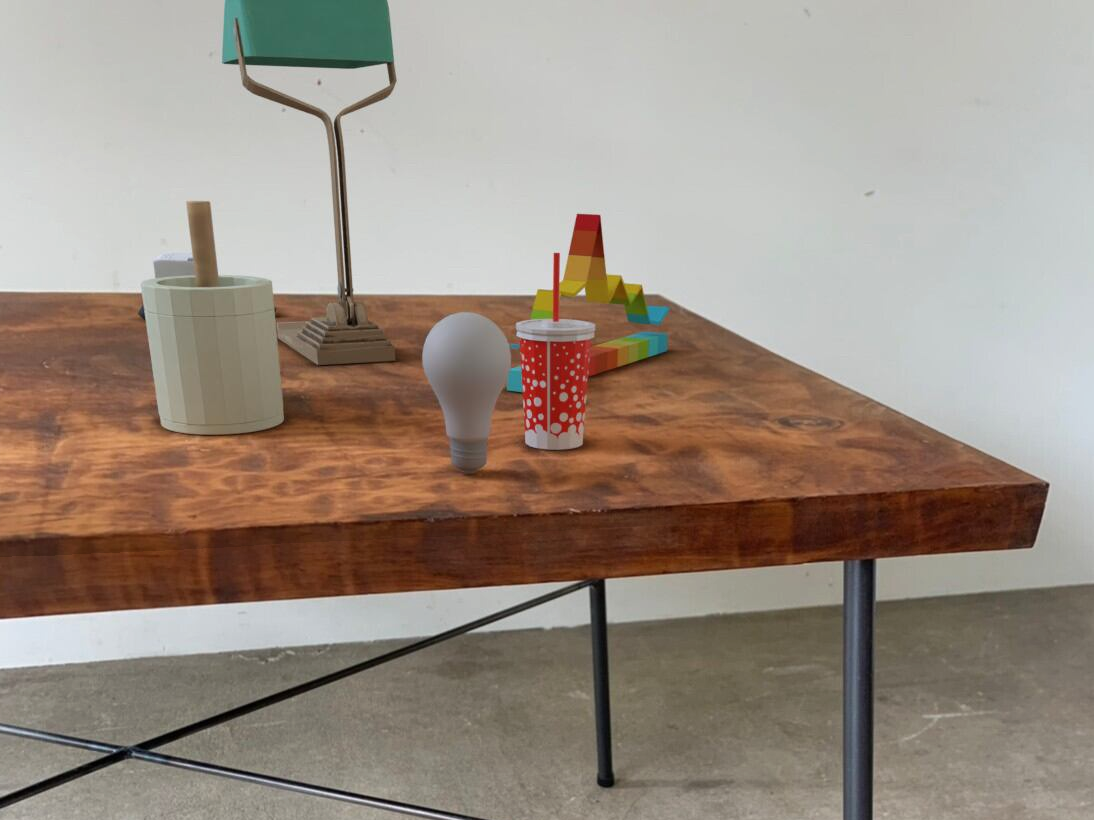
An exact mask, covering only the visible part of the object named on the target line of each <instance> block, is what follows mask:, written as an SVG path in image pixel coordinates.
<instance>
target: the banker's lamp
mask: <svg viewBox="0 0 1094 820" xmlns="http://www.w3.org/2000/svg"><path fill="white" fill-rule="evenodd" d="M223 10H224V11H223V29H222V31H223V32H222V52H221V63H222V64H224V65H232V66H233V65H235V66H238V67H239V72H240V77H241V78H240V79H241V84H242V86H243V87H244V89H246V91H247V92H249V93H251V94H253V95H255V96H258V97H259V98H263V99H266V100H269V101H271V102H274V103H277V104H281V105H283V106H287V107H289V108H292V109H295V110H298V111H300V112H302V113H305V114H309V115H312V116H315V117H317V118H318V119H320V120H321V121H322V122H323V125H324V127H325V131H326V138H327V143H328V145H327V146H328V152H329V153H328V154H329V167H330V168H329V169H330V179H331V180H330V181H331V196H332V198H331V199H332V211H333V225H334V226H333V227H334V240H335V241H334V242H335V254H336V255H335V256H336V270H337V295H338V298H339V299H338V301H339V302H329V303H328V304H327V307H326V316H325V317H321V316H320V317H311V320H306V321H305V320H304V321H283V322H276V332H277V340H280V341H281V342H283V343H284V344H286V345H287V346H289V348H291V349H293V350H295V351H296V352H298V353H299V354H301V355H302V356H304V357H305V358H307V359H308V360H309V361H311V362H312V363H314V364H315V365H317V366H324V365H325V366H326V365H327V366H328V365H343V364H344V365H345V364H358V363H378V362H393V361H396V347H395V345H394V344H392V340H391V339H388V338H387V334H386V333H384V330H383V328H381V327H379V324H377V323H375V322H373V321H371V320H369V317H368V311H367V308H366V305H365V303H364V301H363V302H362V301H354V287H353V285H354V284H353V271H352V255H351V237H350V224H349V221H350V220H349V205H348V189H347V174H346V173H347V172H346V159H345V146H344V138H343V132H342V125H341V119H342V117H343V116H346V115H349V114H352V113H353V112H356V111H358V110H361V109H363V108H366V107H368V106H369V107H370V106H371V105H374V104H376V103H378V102H381V101H383V100H386V99H387V98H388V97H390V95H391V94H392V93H393V91H394V90H395V86H396V84H397V82H398V80H397V79H398V78H397V73H396V67H395V56H394V45H393V37H392V35H393V34H392V25H391V24H392V23H391V15H390V14H391V13H390V6H389V1H388V0H224V9H223ZM380 65H386V68H387V74H388V81H389V85H388V86H386V87H384V88H383V89H381V90H379V91H377V92H375V93H372V94H371V95H369V96H367V97H365V98H363V99H360V100H358V101H357V102H355V103H353V104H351V105H349V106H346V107H345V108H343V109H342V110H341V111H339V112H338V114H337V115H336V116H335V118H334V120H333V121H332V119H331V117H330V115H329V114H328V113H327V112H326V111H324V110H323V109H321V108H320V107H317V106H315V105H312V104H310V103H307V102H305V101H302V100H300V99H299V98H296V97H293V96H291V95H287V94H286V93H283V92H281V91H279V90H277V89H274V88H272V87H270V86H267V85H264V84H262V83H261V82H257V81H256V80H254V79H253V78H251V77H250V76H249V75H248V72H247V67H246V66H259V67H260V66H263V67H286V68H287V67H289V68H290V67H291V68H311V69H312V68H314V69H315V68H316V69H339V70H342V69H343V70H349V69H350V70H351V69H352V70H354V69H361V68H367V67H374V66H380Z"/></svg>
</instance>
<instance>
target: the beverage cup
mask: <svg viewBox="0 0 1094 820" xmlns="http://www.w3.org/2000/svg"><path fill="white" fill-rule="evenodd" d="M552 264H553V267H552V269H553V271H552V273H553V275H552V276H553V277H552V278H553V279H552V281H553V282H552V286H553V287H552V290H553V319H534V320H530V319H526V320H521V321H517V322H516V323H515V330H516V335H515V336H516V337H518V338H519V345H520V349H519V352H520V366H521V372H522V390H523V392H522V405H523V407H522V408H523V421H524V422H523V423H524V439H525V441H524V442H525V445H527V446H528V447H532V448H535V449H540V450H553V451H555V450H556V451H557V450H558V451H559V450H571V449H576V448H579V447H581V446H583V442H584V430H585V429H584V428H585V417H586V406H587V395H588V394H587V393H588V383H589V376H588V371H589V360H590V348H591V346H592V345H591V344H592V339H594V338H595V331H596V323H593V322H591V321H586V320H579V319H568V318H560V303H559V283H560V275H561V274H560V272H561V271H560V270H561V268H560V267H561V265H560V264H561V253H560V252H553V263H552Z"/></svg>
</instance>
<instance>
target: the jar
mask: <svg viewBox="0 0 1094 820" xmlns="http://www.w3.org/2000/svg"><path fill="white" fill-rule="evenodd" d="M218 277H219V286H220V287H196V280H195V275H190V276H172V277H162V278H155V277H154V278H149V279H145V280H143V281H142V282H140V289H141V297H142V305H144V309H145V310H144V312H145V319H144V320H145V325H146V333H147V340H148V347H149V353H150V361H151V369H152V375H153V382H154V390H155V391H154V392H155V395H156V396H155V397H156V405H157V409H158V410H157V411H158V416H159V421H160V425H161V426H162V427H163V428H164V429H165V430H168V431H171V432H174V433H175V432H176V433H178V434H179V433H180V434H188V435H200V436H220V435H221V436H222V435H223V436H225V435H226V436H227V435H239V434H247V433H248V434H249V433H254V432H260V431H264V430H269V429H272V428H274V427H277V426H279V425H281V424H282V423H284V420H285V416H284V415H285V414H284V399H283V398H284V397H283V387H282V377H281V367H280V365H281V364H280V355H279V344H278V333H277V322H276V312H275V310H274V307H275V299H274V290H273V281H272V280H271V279H268V278H265V277H260V276H253V275H252V276H250V275H237V274H232V275H231V274H218Z"/></svg>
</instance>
